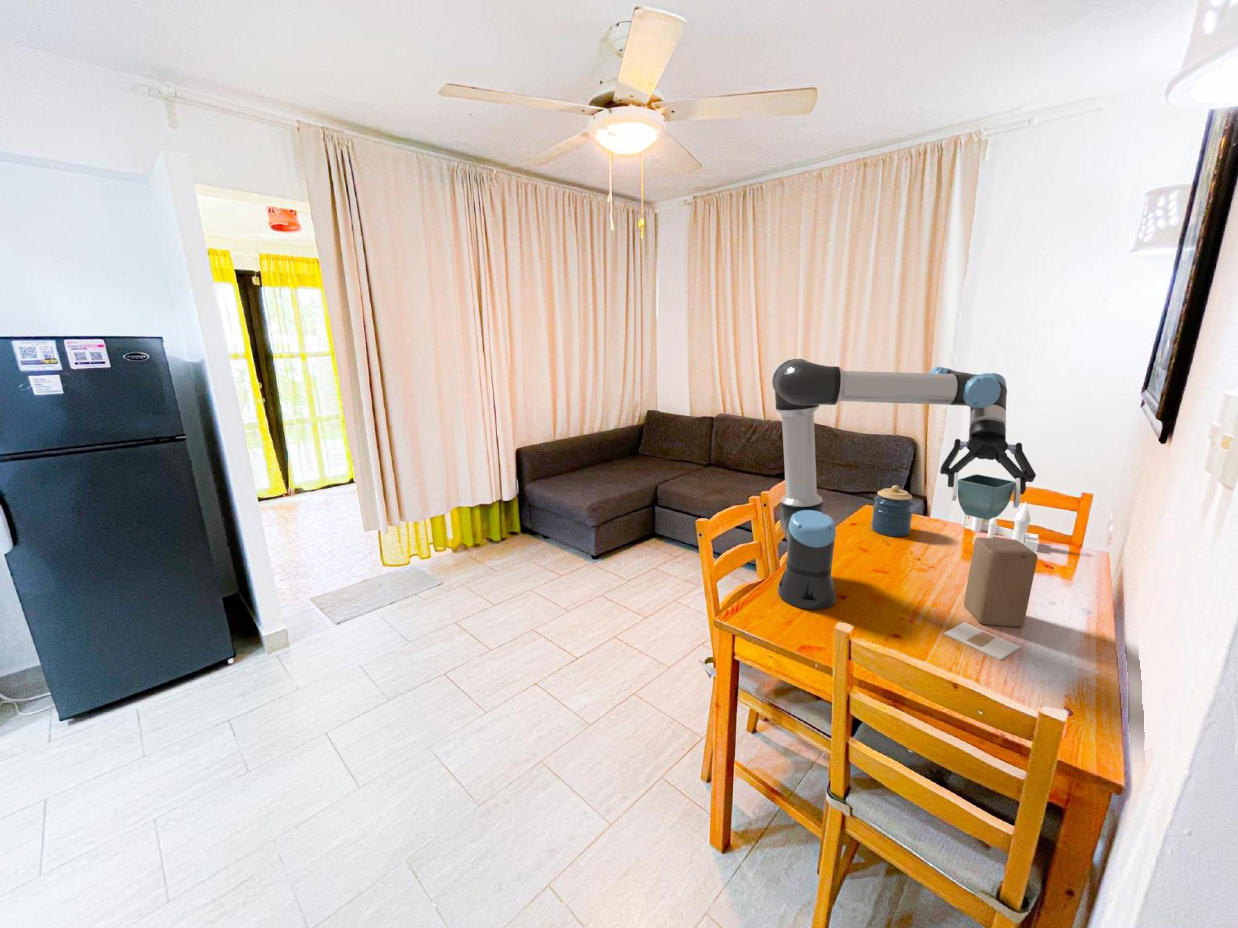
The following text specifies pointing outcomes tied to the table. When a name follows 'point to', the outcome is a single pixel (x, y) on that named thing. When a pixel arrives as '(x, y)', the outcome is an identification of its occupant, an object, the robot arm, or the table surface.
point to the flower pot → (984, 495)
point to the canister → (892, 512)
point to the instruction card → (982, 640)
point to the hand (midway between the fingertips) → (984, 501)
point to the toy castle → (1017, 534)
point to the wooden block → (1000, 581)
